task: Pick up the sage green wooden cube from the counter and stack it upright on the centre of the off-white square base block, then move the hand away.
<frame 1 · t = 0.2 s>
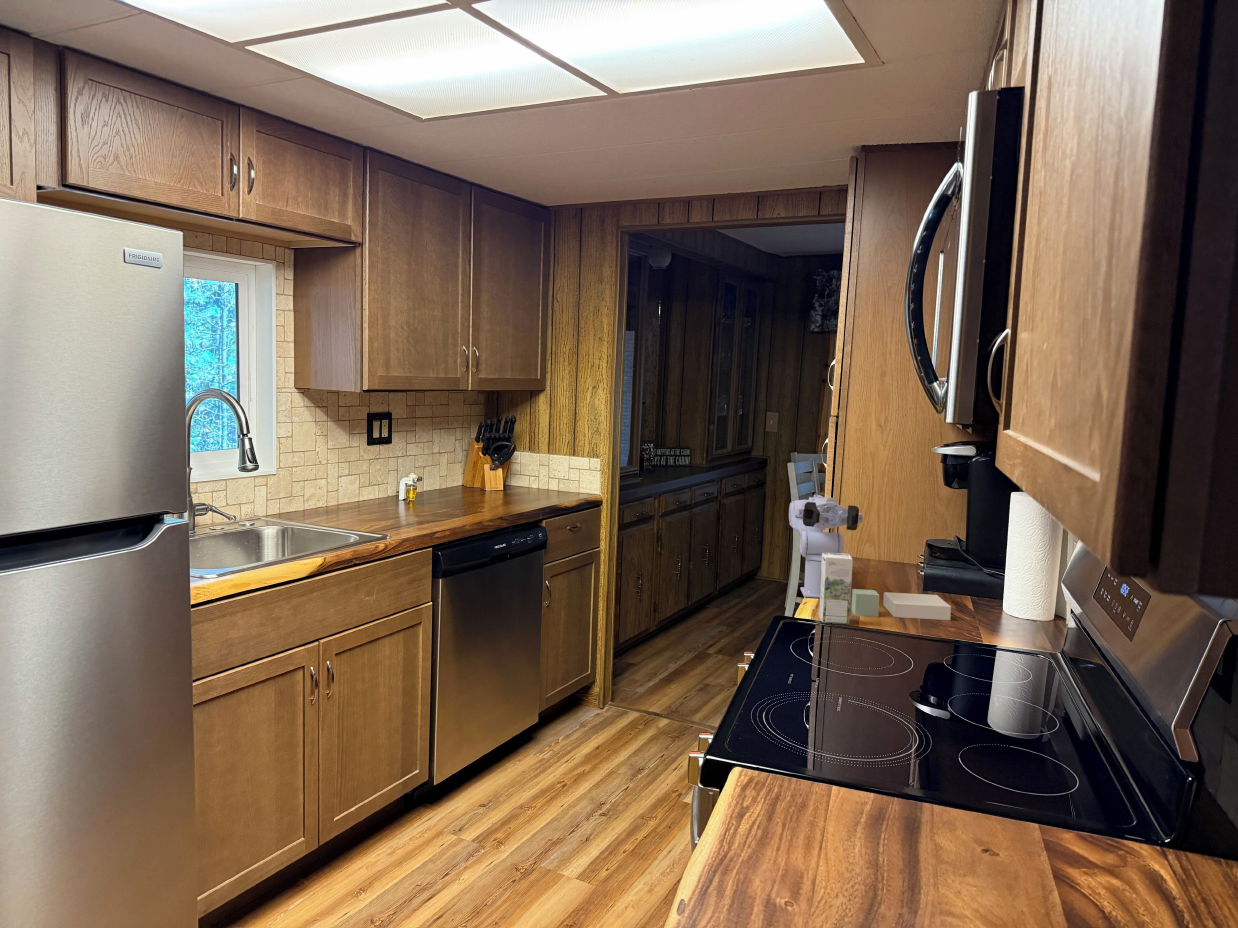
hand: (835, 519, 188), 21 cm above the worktop, tool horizontal, fingers open, 7 cm apart
syrup box: (833, 622, 183), on the worktop
base block: (915, 612, 193), on the worktop
green cube: (864, 613, 191), on the worktop
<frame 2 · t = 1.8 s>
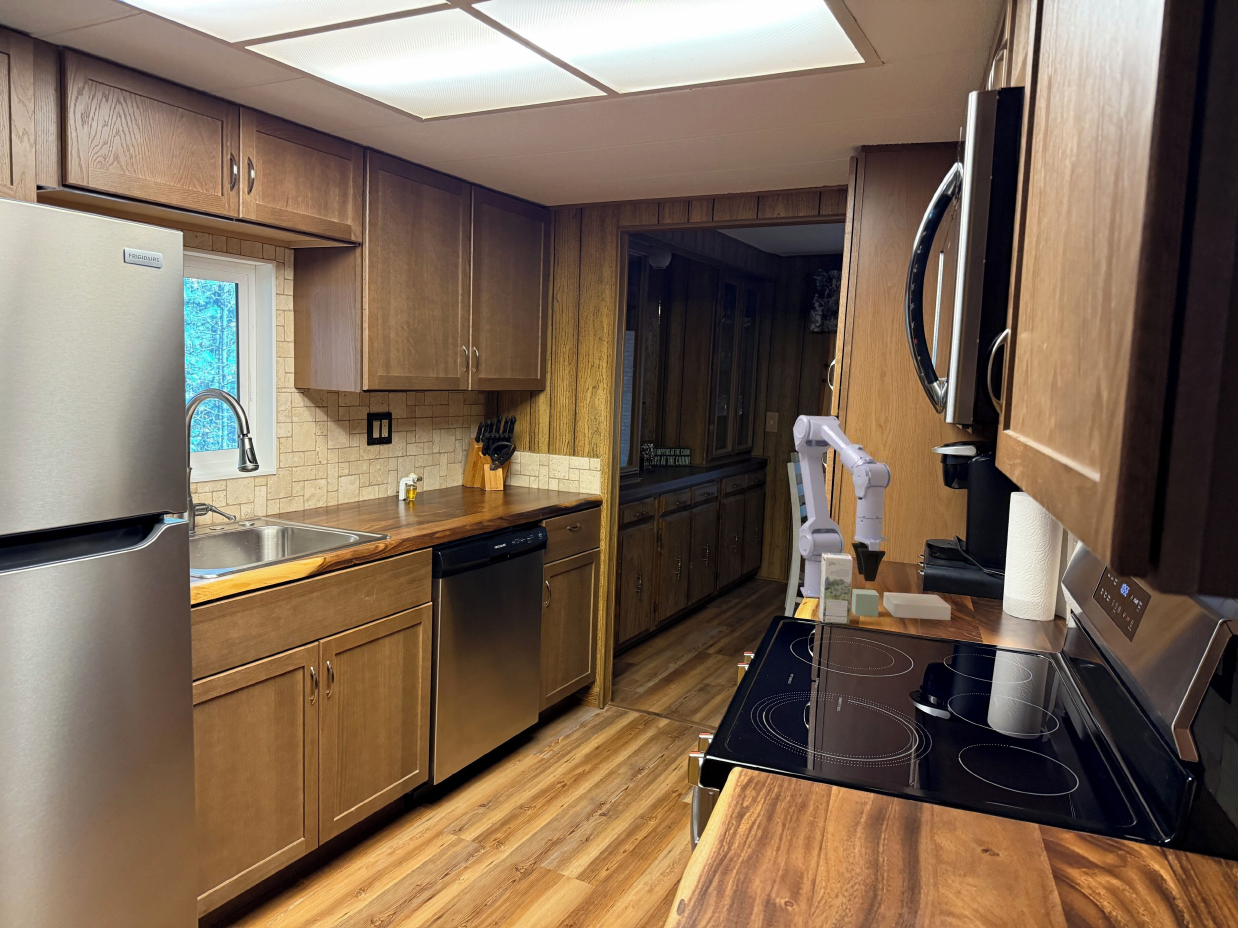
hand: (866, 577, 190), 8 cm above the worktop, tool pointing down, fingers open, 7 cm apart
nothing on the worktop moved.
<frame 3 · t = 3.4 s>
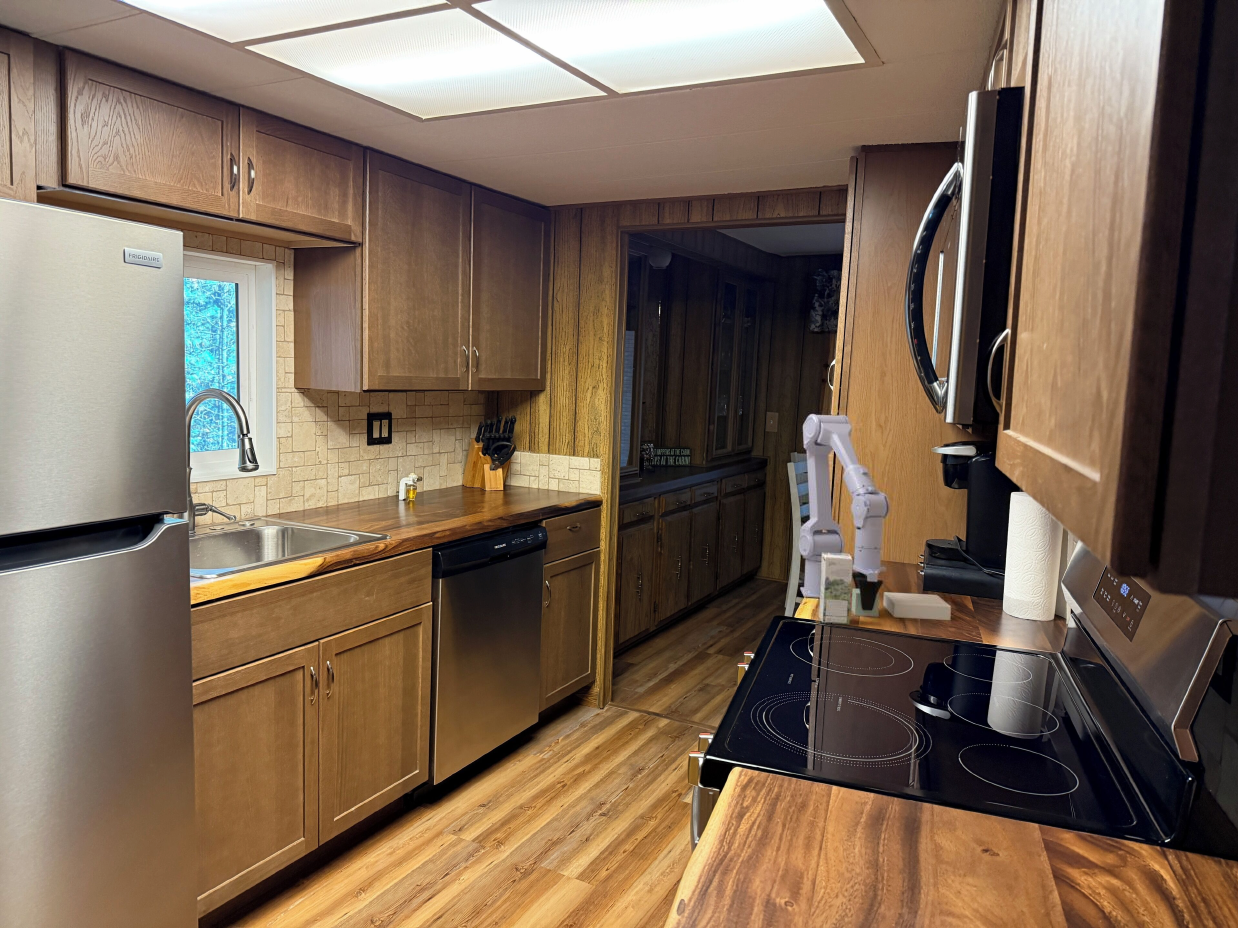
hand: (864, 607, 191), 1 cm above the worktop, tool pointing down, fingers closed on green cube, 5 cm apart
green cube: (864, 613, 191), on the worktop, touching gripper
everything else where it was.
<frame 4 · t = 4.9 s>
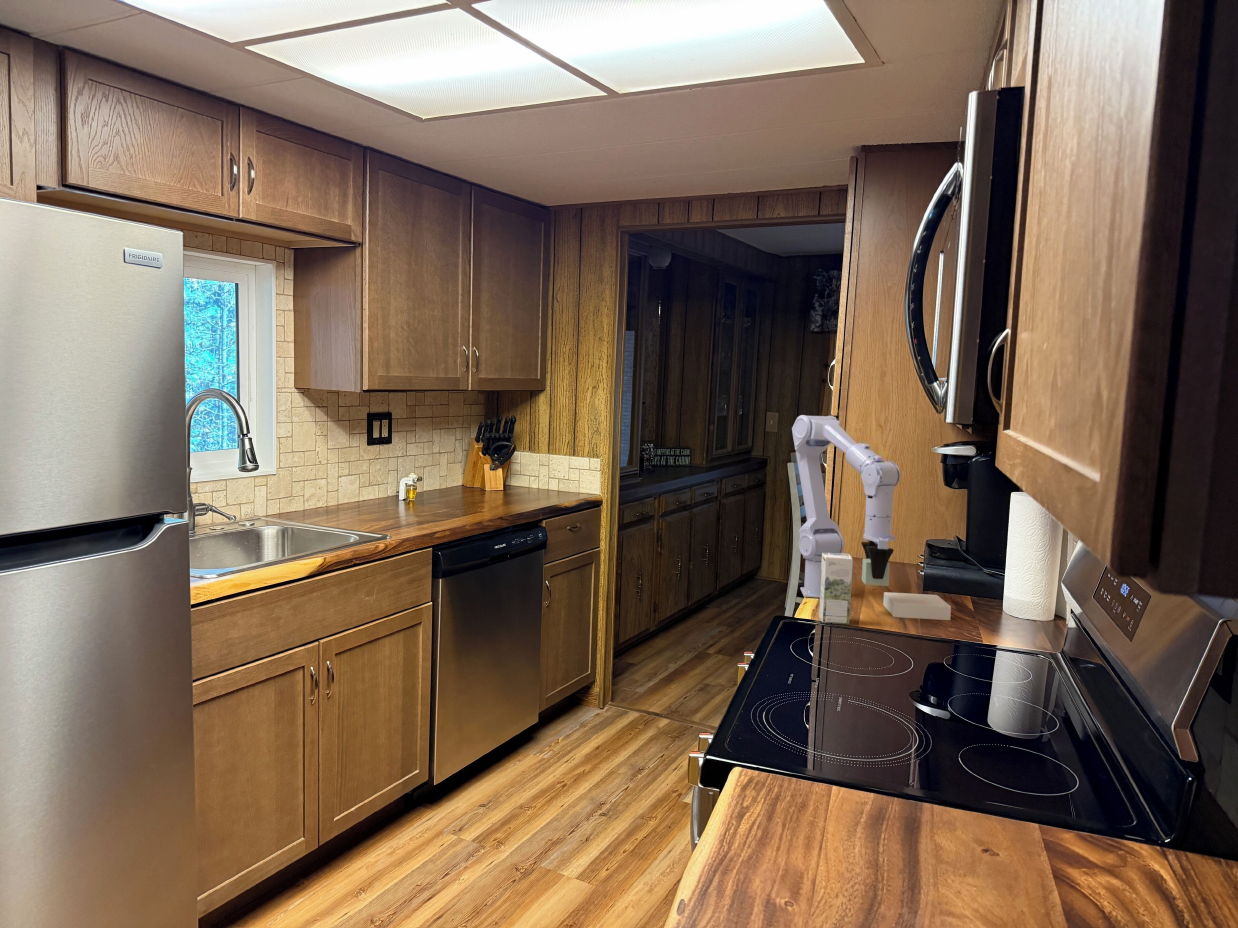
hand: (875, 576, 191), 8 cm above the worktop, tool pointing down, fingers closed on green cube, 5 cm apart
green cube: (874, 582, 191), point 7 cm above the worktop, touching gripper
everything else where it was.
when the fingers open (5 cm above the worktop, at t = 6.9 s): green cube stays where it is, resting on base block.
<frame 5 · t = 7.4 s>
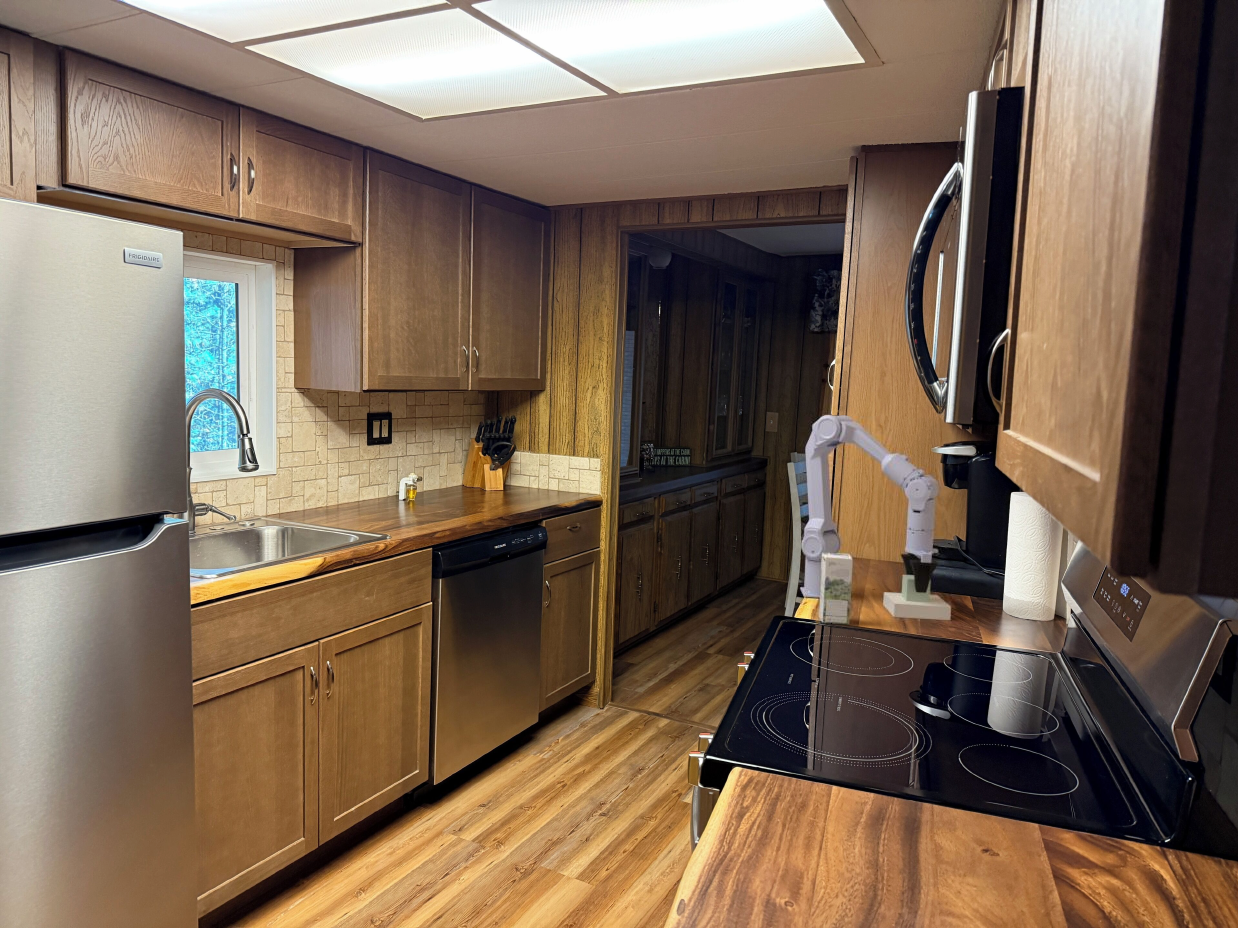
hand: (916, 588, 193), 5 cm above the worktop, tool pointing down, fingers open, 7 cm apart
green cube: (915, 599, 193), point 3 cm above the worktop, touching base block
everything else where it was.
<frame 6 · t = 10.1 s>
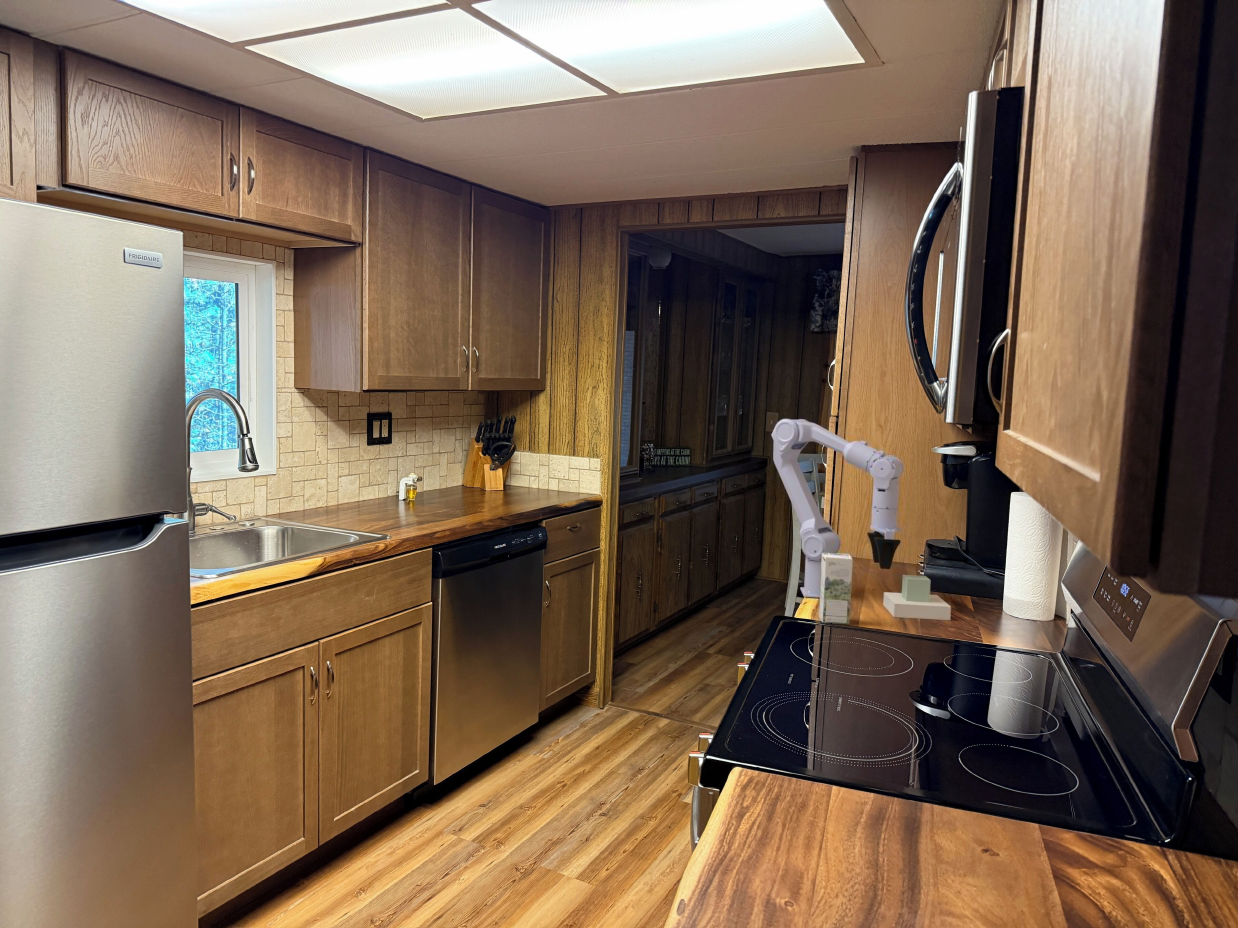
hand: (881, 565, 199), 9 cm above the worktop, tool pointing down, fingers open, 7 cm apart
nothing on the worktop moved.
at the end: green cube inside the target area on the base block (0.2 cm from its centre), point 3.0 cm above the base block's base; green cube tilted 0°; the gripper is holding nothing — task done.
